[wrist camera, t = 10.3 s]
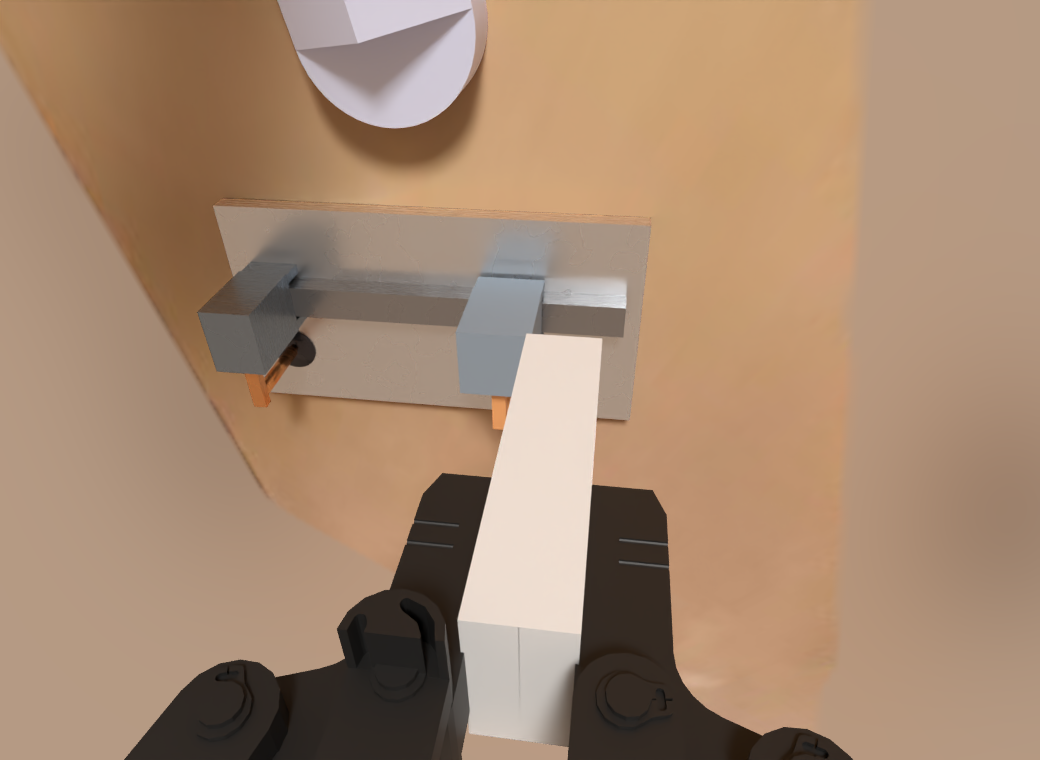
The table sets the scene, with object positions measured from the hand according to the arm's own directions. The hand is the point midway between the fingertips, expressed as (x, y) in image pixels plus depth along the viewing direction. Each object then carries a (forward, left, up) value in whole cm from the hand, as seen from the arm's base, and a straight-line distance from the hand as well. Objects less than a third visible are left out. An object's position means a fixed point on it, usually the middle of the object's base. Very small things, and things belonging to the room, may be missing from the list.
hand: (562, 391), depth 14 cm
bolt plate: (+14, -10, -26) cm, 32 cm away
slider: (+14, -5, -25) cm, 29 cm away
